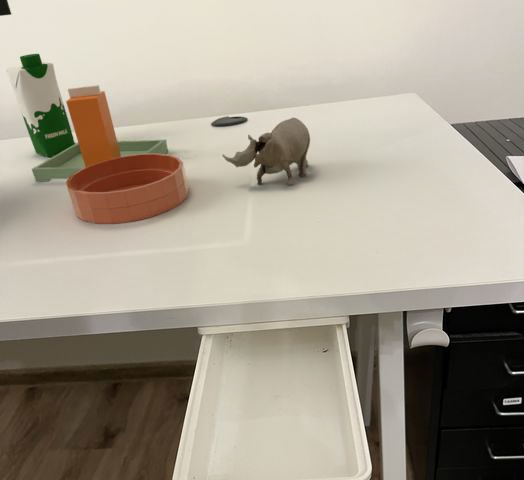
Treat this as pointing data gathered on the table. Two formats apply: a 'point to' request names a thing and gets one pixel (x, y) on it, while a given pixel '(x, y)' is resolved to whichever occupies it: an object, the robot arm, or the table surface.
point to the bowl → (128, 188)
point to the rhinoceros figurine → (277, 150)
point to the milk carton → (41, 105)
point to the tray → (73, 160)
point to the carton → (92, 124)
